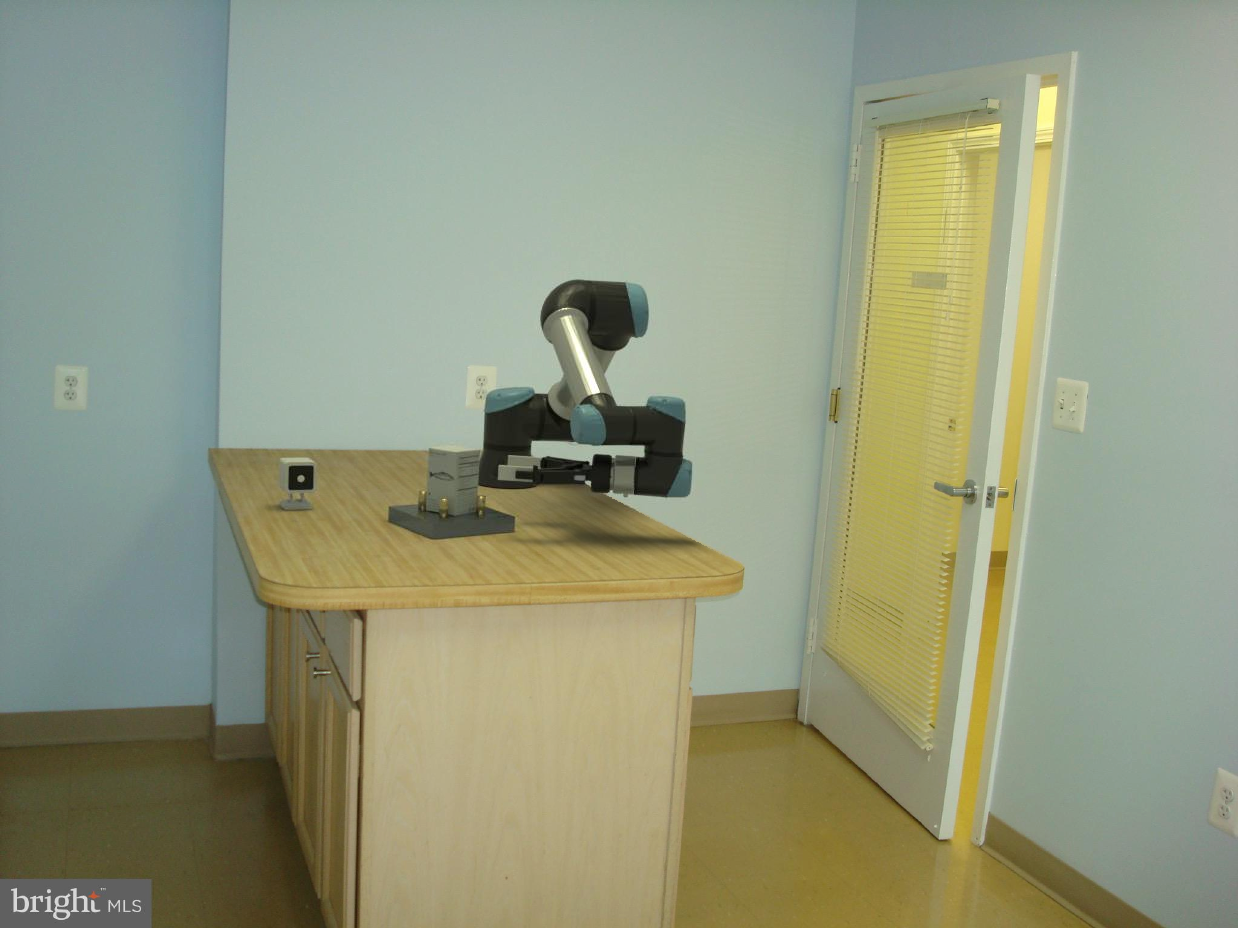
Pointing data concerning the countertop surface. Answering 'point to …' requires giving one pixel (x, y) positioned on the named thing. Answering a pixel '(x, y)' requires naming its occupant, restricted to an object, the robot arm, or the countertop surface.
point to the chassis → (450, 519)
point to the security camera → (297, 481)
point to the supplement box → (453, 478)
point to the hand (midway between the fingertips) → (503, 467)
